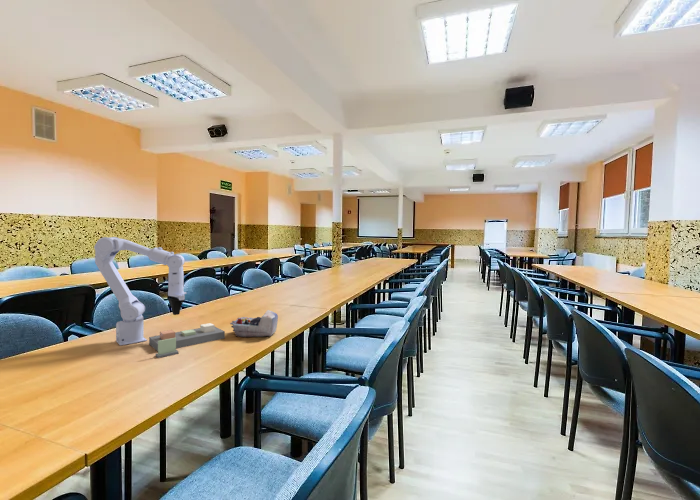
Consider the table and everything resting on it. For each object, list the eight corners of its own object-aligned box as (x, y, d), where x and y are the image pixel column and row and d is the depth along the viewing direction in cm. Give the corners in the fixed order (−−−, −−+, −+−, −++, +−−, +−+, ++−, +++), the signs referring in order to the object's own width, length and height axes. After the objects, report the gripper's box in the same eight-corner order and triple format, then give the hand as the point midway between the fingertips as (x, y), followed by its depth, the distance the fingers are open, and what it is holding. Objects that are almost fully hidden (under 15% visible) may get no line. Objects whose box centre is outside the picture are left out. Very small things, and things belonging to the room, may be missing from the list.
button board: (158, 352, 129) (158, 344, 129) (149, 344, 137) (149, 337, 137) (224, 338, 147) (224, 331, 147) (213, 332, 156) (213, 325, 155)
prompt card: (158, 358, 123) (157, 342, 122) (155, 355, 125) (155, 340, 125) (178, 353, 128) (178, 338, 127) (175, 351, 130) (175, 336, 130)
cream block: (204, 336, 145) (204, 326, 144) (200, 333, 148) (200, 324, 148) (214, 334, 148) (214, 325, 148) (210, 331, 151) (210, 323, 151)
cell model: (274, 314, 147) (227, 315, 147) (274, 339, 148) (228, 339, 147) (279, 307, 160) (236, 308, 160) (279, 330, 161) (237, 330, 160)
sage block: (184, 343, 139) (184, 333, 139) (180, 340, 142) (180, 331, 142) (195, 340, 142) (195, 331, 142) (191, 338, 145) (191, 329, 145)
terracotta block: (163, 344, 133) (163, 334, 133) (159, 341, 136) (159, 331, 136) (175, 341, 136) (175, 332, 136) (171, 339, 140) (171, 329, 139)
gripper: (192, 284, 142) (192, 316, 143) (180, 280, 152) (180, 310, 153) (174, 285, 137) (174, 318, 138) (162, 281, 147) (162, 312, 148)
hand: (176, 314), depth 145 cm, fingers closed
